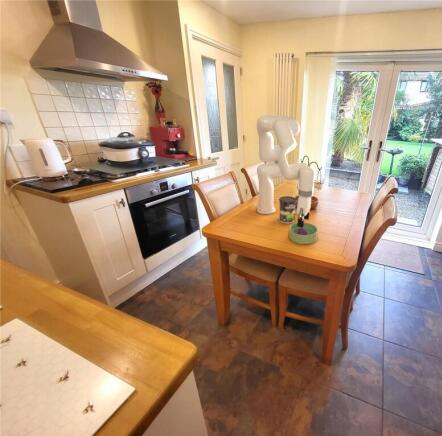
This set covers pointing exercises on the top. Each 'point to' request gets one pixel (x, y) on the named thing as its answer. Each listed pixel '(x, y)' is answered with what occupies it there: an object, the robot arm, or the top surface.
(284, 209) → the coffee can
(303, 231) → the ball
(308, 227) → the bowl
